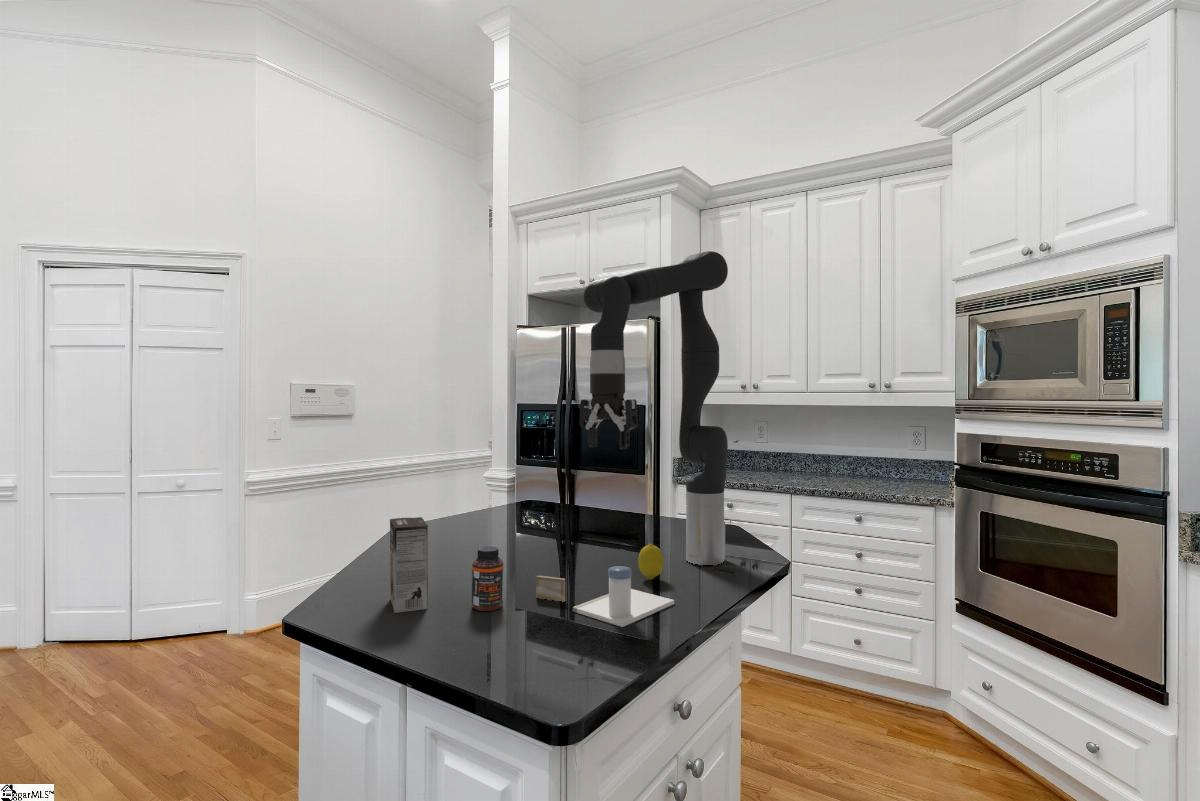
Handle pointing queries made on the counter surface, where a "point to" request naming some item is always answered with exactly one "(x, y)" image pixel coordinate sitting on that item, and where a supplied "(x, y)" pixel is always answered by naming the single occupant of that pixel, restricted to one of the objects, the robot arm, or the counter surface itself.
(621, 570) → the white blue capped bottle
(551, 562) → the counter surface
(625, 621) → the paper pad
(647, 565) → the lemon
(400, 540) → the coffee box
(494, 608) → the supplement bottle
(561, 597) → the word sign
